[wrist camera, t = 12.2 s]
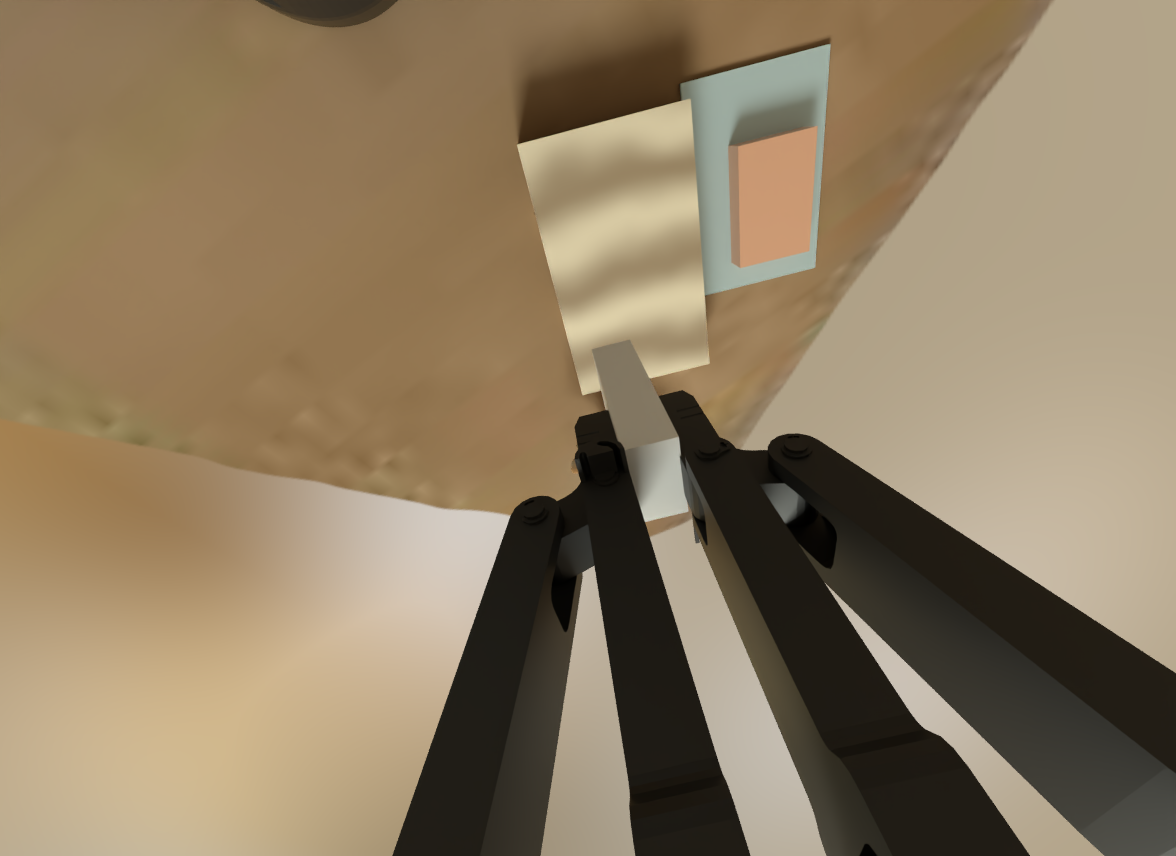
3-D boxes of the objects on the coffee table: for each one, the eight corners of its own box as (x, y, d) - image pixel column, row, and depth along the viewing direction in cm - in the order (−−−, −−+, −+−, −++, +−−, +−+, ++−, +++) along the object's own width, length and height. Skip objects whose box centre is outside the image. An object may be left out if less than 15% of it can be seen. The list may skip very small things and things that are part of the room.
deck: (518, 143, 33) (516, 144, 30) (674, 102, 33) (690, 98, 30) (578, 375, 44) (582, 395, 41) (695, 346, 44) (709, 363, 41)
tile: (817, 125, 33) (803, 126, 34) (738, 146, 33) (728, 145, 35) (809, 251, 38) (797, 246, 40) (740, 268, 38) (731, 262, 40)
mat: (679, 83, 32) (680, 83, 32) (828, 44, 32) (830, 43, 32) (696, 296, 41) (697, 297, 41) (813, 266, 41) (815, 267, 41)
